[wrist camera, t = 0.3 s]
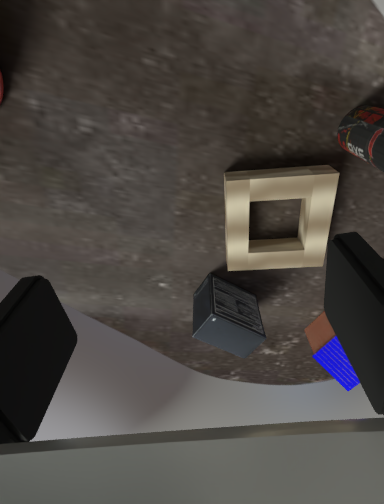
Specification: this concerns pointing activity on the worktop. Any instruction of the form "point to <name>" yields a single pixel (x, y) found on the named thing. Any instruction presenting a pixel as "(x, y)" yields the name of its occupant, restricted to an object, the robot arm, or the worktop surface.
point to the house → (330, 352)
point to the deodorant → (364, 134)
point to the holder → (276, 188)
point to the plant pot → (1, 87)
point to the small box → (227, 317)
